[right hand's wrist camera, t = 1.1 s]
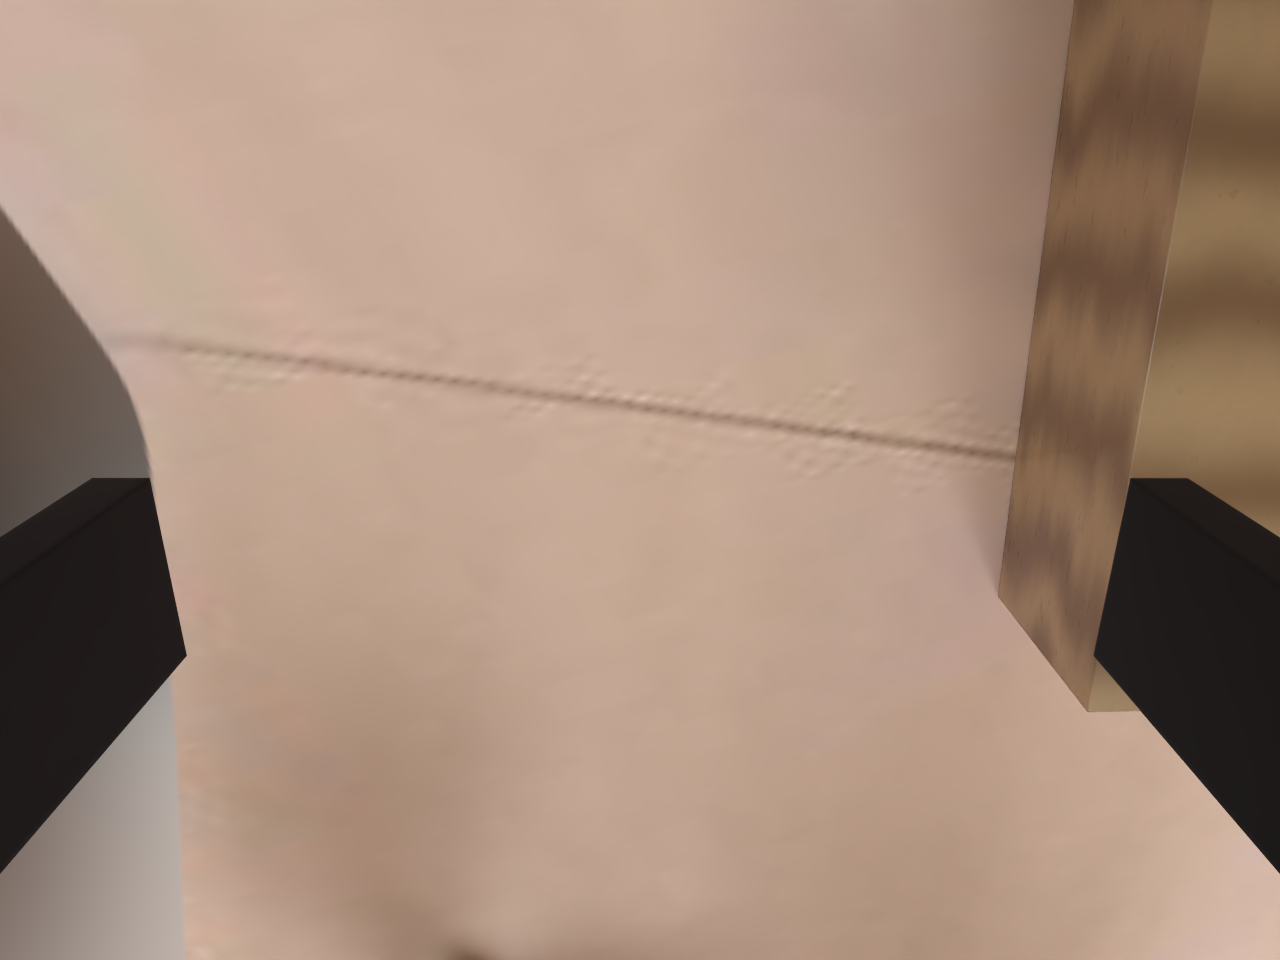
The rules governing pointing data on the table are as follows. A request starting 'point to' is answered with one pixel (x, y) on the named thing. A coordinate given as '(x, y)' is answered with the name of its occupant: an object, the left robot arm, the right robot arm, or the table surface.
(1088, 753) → the table surface
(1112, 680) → the beam
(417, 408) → the table surface
